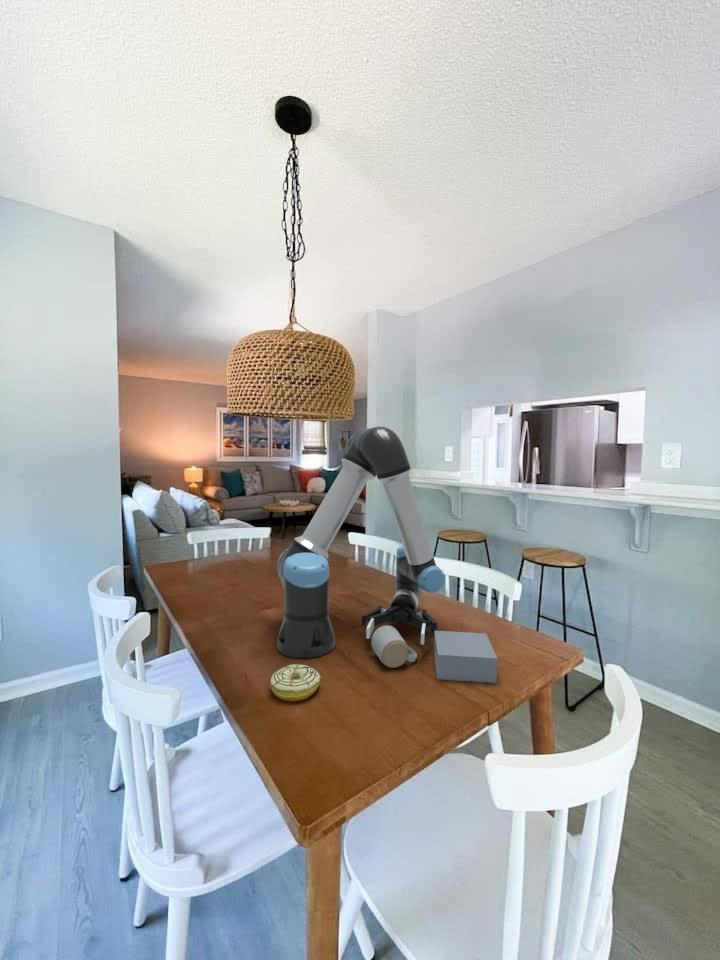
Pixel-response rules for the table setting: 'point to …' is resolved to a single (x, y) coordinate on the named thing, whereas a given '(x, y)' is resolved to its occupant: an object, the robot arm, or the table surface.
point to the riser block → (464, 657)
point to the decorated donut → (295, 682)
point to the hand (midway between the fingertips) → (394, 636)
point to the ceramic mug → (391, 647)
